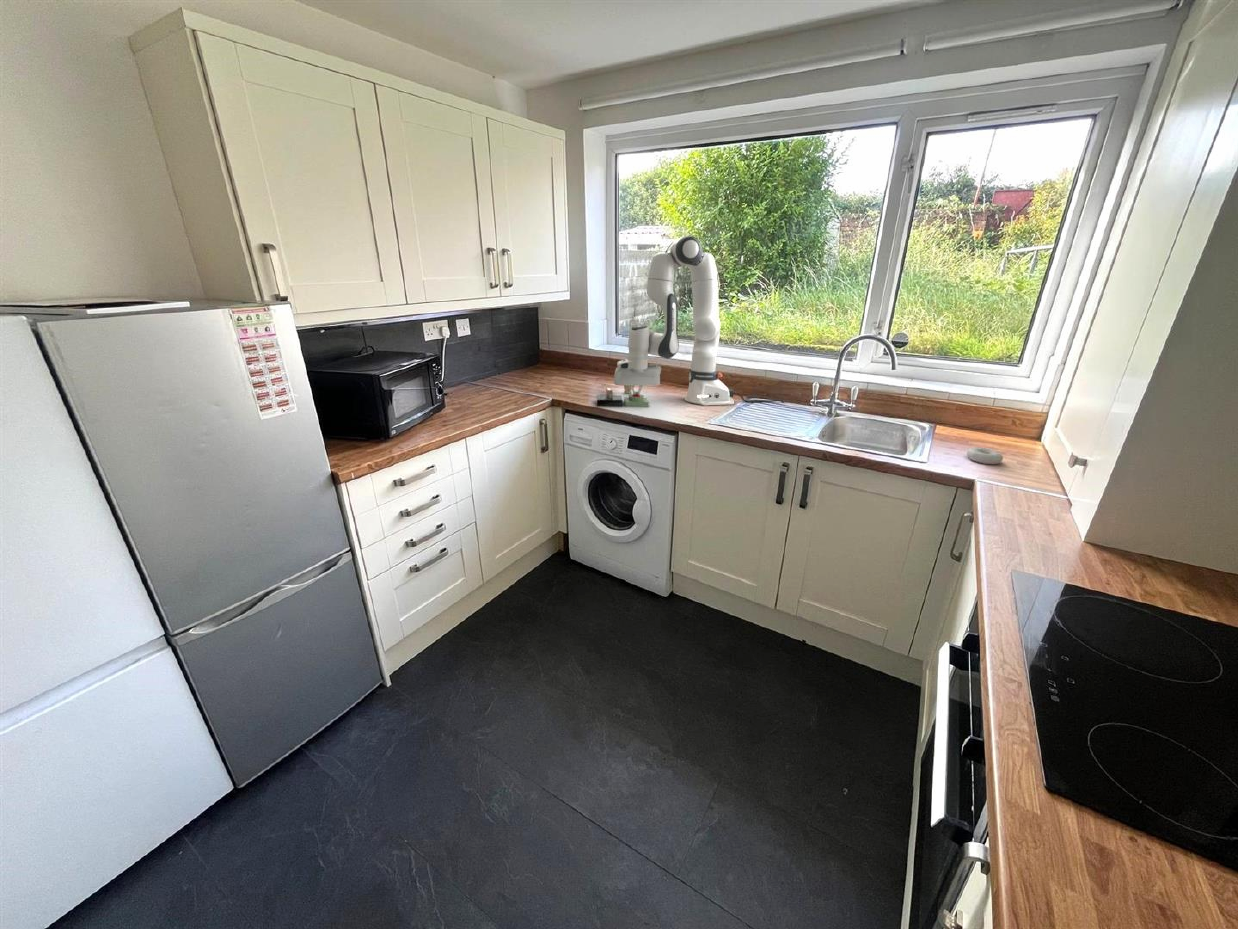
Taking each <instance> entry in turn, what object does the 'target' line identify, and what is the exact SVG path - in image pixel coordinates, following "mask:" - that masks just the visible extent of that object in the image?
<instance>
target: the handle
mask: <svg viewBox="0 0 1238 929" xmlns="http://www.w3.org/2000/svg"><path fill="white" fill-rule="evenodd" d="M623 389H624V390H623V391H624V394H626V395H630V394H632V389H631V385H623Z"/></svg>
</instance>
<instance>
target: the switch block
mask: <svg viewBox="0 0 1238 929" xmlns="http://www.w3.org/2000/svg"><path fill="white" fill-rule="evenodd" d="M632 395H633V393H631V394H628V397H627V396H625V397H624V398H623V402H624V407H630V408H631V407H633V408H635V407H636V408H649V400H648V398H647V397H645V396H644V394H641V393H640V397H633V396H632Z"/></svg>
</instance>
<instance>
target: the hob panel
mask: <svg viewBox="0 0 1238 929" xmlns="http://www.w3.org/2000/svg"><path fill="white" fill-rule="evenodd" d="M596 407H612V408H614V407H615V408H622V407H623V398H622V395H621V394H613V399H609V398H608V397H607V396H606V394H596Z"/></svg>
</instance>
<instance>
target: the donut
mask: <svg viewBox="0 0 1238 929" xmlns="http://www.w3.org/2000/svg"><path fill="white" fill-rule="evenodd" d="M966 456H967V458H968V459H969V460H971V461H973V462H975V463H980V464H985V465H998V464H1000V463H1002V461H1003V460H1004V456H1003V454H1001V453H1000V452H999V451H997V450H994V449H991V448H986V447H971V448H969V449H968V450H967V451H966Z"/></svg>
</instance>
